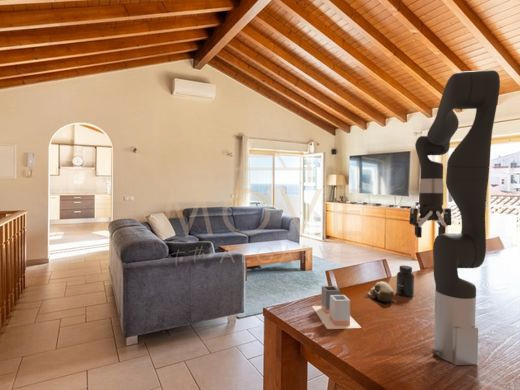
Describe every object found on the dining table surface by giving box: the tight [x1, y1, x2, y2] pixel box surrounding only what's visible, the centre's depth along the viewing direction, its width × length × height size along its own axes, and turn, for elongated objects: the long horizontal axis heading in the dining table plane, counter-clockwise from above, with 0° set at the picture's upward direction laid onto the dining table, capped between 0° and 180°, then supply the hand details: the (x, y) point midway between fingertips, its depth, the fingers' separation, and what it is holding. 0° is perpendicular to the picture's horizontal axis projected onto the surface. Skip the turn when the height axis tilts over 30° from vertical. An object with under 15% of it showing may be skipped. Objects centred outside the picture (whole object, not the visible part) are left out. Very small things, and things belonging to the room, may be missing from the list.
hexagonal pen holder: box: [330, 294, 351, 326], centre depth 98 cm, size 5×5×8 cm
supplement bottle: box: [395, 264, 415, 298], centre depth 129 cm, size 7×7×12 cm
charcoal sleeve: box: [320, 285, 341, 314], centre depth 107 cm, size 5×5×8 cm
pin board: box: [311, 305, 362, 330], centre depth 103 cm, size 18×11×6 cm, turn 6°
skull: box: [365, 281, 398, 306], centre depth 122 cm, size 12×10×10 cm
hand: (430, 237), depth 107 cm, fingers open, 8 cm apart
